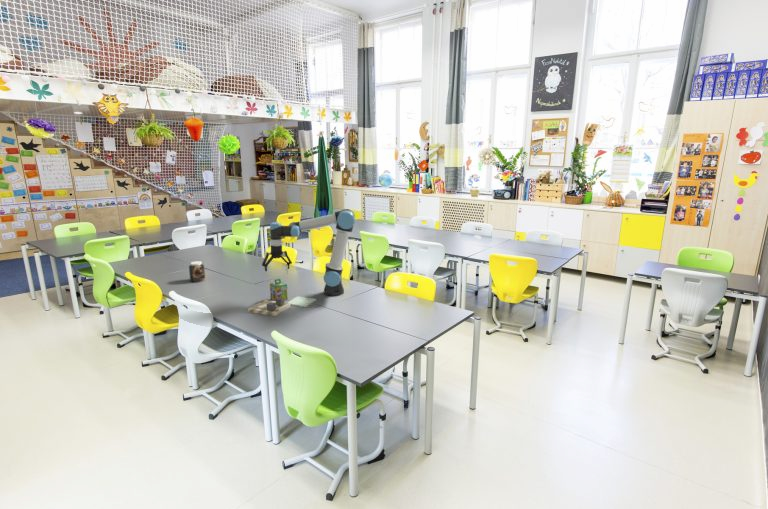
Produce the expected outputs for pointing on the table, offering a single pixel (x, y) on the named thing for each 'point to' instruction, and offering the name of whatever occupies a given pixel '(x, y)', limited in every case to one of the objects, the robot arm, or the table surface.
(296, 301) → the mat
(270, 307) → the switch
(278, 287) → the chalk box
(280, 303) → the switch
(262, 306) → the switch panel
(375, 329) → the table surface
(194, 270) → the jar
